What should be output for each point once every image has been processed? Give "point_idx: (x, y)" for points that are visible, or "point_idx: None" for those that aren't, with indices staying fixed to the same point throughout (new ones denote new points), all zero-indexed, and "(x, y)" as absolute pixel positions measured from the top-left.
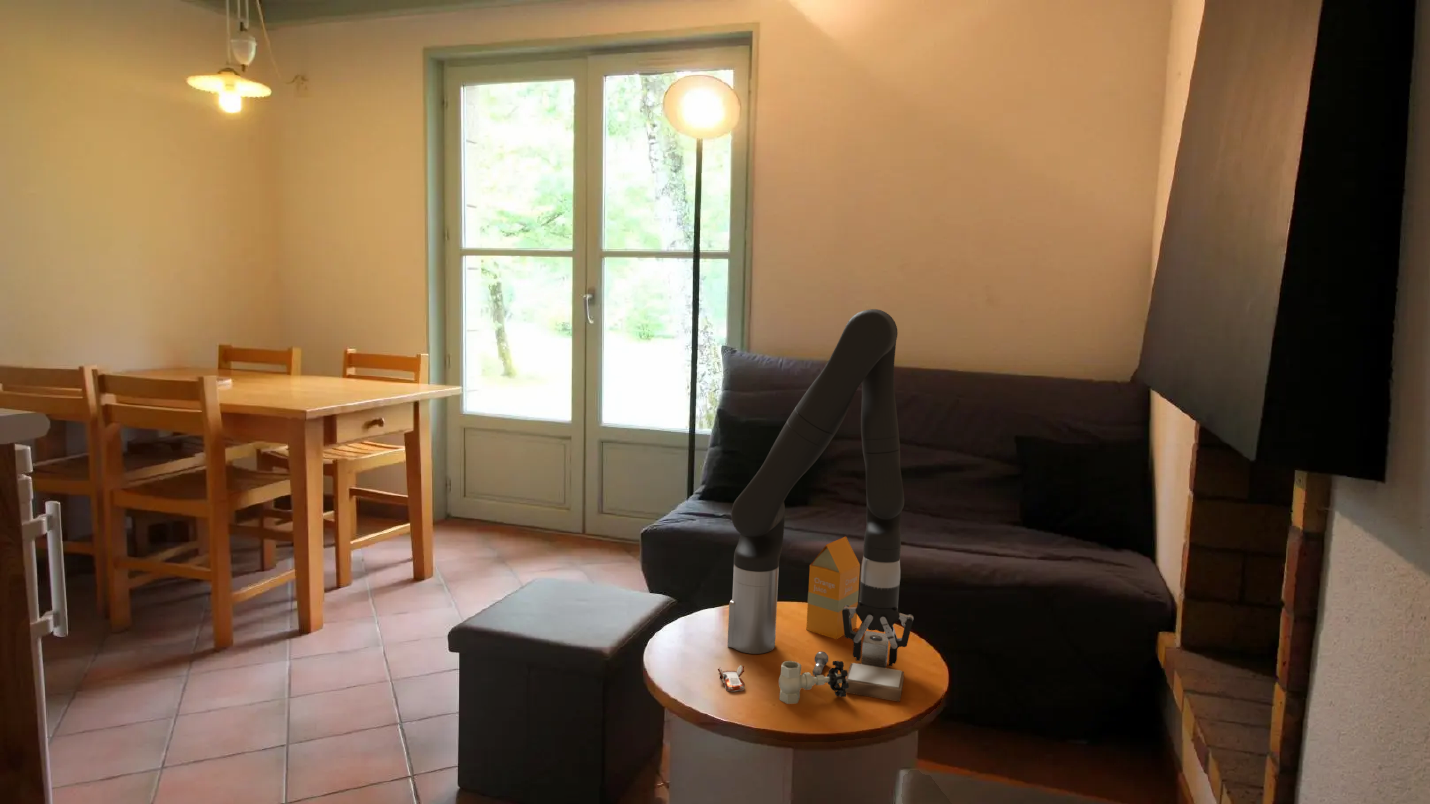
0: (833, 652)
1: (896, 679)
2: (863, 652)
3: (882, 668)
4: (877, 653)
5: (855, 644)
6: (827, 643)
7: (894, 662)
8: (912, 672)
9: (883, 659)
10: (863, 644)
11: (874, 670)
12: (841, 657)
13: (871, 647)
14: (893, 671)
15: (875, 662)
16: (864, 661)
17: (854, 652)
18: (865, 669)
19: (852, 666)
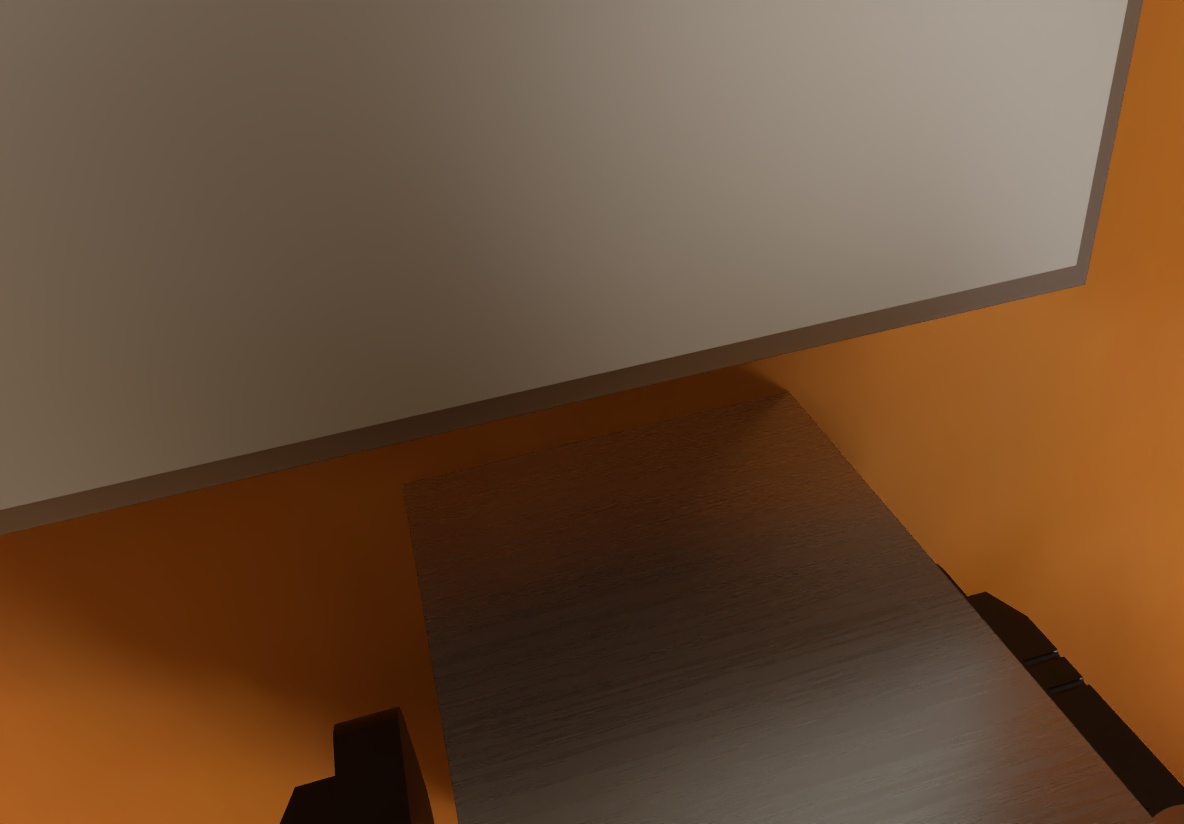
0: (1140, 648)
1: None
2: (957, 638)
3: (385, 375)
4: (658, 752)
5: (1133, 782)
6: (1181, 767)
7: (307, 803)
8: (25, 803)
9: (479, 694)
10: (1105, 800)
11: (543, 141)
12: (1057, 600)
13: (872, 821)
14: (42, 376)
15: (621, 579)
16: (825, 513)
17: (1028, 654)
18: (781, 71)
19: (1101, 60)
